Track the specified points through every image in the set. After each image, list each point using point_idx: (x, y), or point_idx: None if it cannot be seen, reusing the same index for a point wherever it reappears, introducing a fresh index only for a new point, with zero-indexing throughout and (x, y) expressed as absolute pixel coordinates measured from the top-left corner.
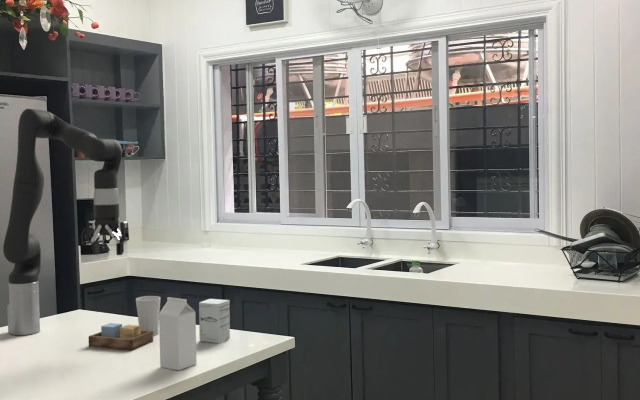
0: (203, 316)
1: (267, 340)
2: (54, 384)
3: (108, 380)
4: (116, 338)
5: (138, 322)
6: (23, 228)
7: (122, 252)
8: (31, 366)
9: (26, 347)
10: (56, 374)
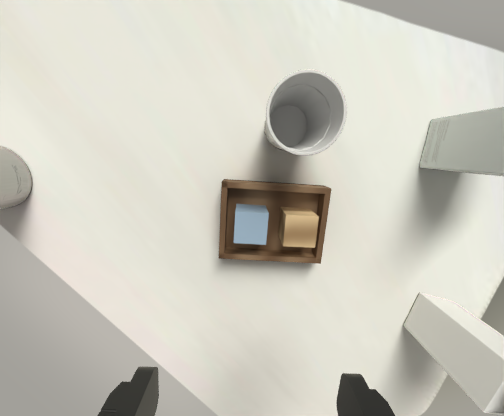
0: (480, 173)
1: None
2: (292, 413)
3: None
4: (285, 260)
5: (271, 141)
6: None
7: (377, 402)
8: (205, 362)
9: (108, 277)
10: (268, 382)
